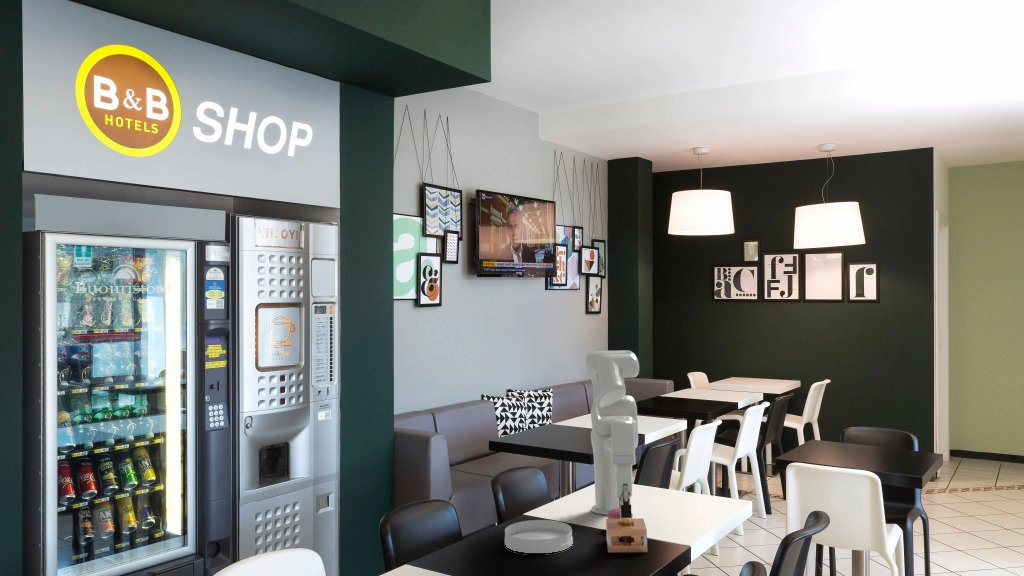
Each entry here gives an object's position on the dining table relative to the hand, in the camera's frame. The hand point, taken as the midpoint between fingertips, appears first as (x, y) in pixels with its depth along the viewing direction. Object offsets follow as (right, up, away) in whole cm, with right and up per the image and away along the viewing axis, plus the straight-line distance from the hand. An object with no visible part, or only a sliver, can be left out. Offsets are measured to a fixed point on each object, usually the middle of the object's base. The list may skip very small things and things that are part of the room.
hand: (625, 513), depth 242 cm
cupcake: (+1, -11, +18) cm, 21 cm away
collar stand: (0, -10, 0) cm, 10 cm away
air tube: (0, -10, 0) cm, 10 cm away
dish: (-27, -12, +5) cm, 30 cm away
